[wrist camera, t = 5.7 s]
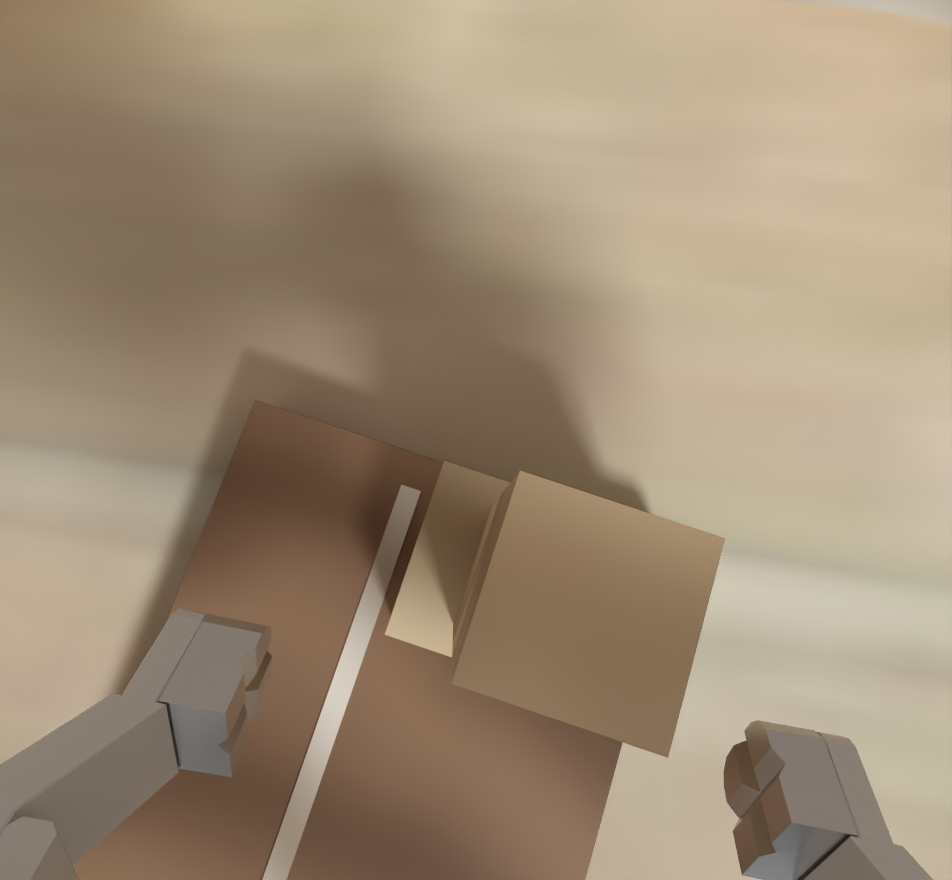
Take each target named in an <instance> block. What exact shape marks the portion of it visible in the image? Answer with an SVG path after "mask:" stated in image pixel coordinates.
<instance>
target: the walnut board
mask: <svg viewBox="0 0 952 880" xmlns="http://www.w3.org/2000/svg"><path fill="white" fill-rule="evenodd" d="M442 466H443V462H440V461H437V460H434V459H431V458H428V457H425V456H422V455H419V454H416V453H413V452H410V451H407V450H404V449H401V448H398V447H395V446H392V445H389V444H386V443H383V442H380V441H377V440H374V439H371V438H368V437H365V436H362V435H359V434H356V433H353V432H350V431H347V430H344V429H341V428H338V427H335V426H332V425H329V424H326V423H323V422H320V421H317V420H314V419H311V418H308V417H305V416H302V415H299V414H296V413H293V412H290V411H287V410H284V409H281V408H278V407H275V406H272V405H269V404H266V403H263V402H260V401H257V400H255V402H254V404H253V407H252V409H251V412H250V414H249V417H248V419H247V422H246V424H245V427H244V429H243V432H242V434H241V437H240V439H239V442H238V444H237V447H236V449H235V452H234V454H233V457H232V459H231V462H230V464H229V467H228V469H227V472H226V474H225V477H224V479H223V482H222V484H221V487H220V489H219V492H218V494H217V497H216V499H215V502H214V504H213V507H212V509H211V512H210V514H209V517H208V519H207V522H206V524H205V527H204V529H203V532H202V534H201V537H200V539H199V542H198V544H197V547H196V549H195V551H194V554H193V556H192V559H191V561H190V564H189V566H188V569H187V571H186V574H185V576H184V579H183V581H182V584H181V586H180V589H179V591H178V594H177V596H176V599H175V601H174V604H173V606H172V609H171V611H170V614H169V616H168V619H169V617H170V616H171V615H172V614H173V613H174V612H175V611H176V610H177V609H178V608H182V609H187V610H193V611H198V612H203V613H208V614H211V615H216V616H221V617H226V618H231V619H235V620H240V621H245V622H250V623H255V624H259V625H264V626H269V627H271V638H272V640H271V642H270V644H269V647H268V649H267V651H268V652H269V653H270V654H271V655H272V670H271V677H270V681H269V685H268V688H267V692H266V695H265V698H264V700H263V703H262V706H261V708H260V711H259V712H258V713H257V714H256V715H254V716H253V717H252V718H250V719H249V720H248V721H247V722H248V740H247V742H246V744H245V747H244V749H243V752H242V754H241V756H240V759H239V761H238V764H237V766H236V768H235V771H234V773H233V776H232V777H228V776H222V775H216V774H210V773H203V772H197V771H191V770H185V769H179V768H178V770H179V772H178V773H177V774H176V775H175V776H174V777H173V778H171V779H170V780H169V781H168V782H167V783H166V784H165V785H163V786H162V787H161V788H160V789H159V790H158V791H157V792H156V793H154V794H153V795H152V796H151V797H150V798H149V799H148V800H146V801H145V802H144V803H143V804H142V805H141V806H140V807H139V808H137V809H136V810H135V811H134V812H133V813H132V814H131V815H129V816H128V817H127V818H126V819H125V820H124V821H123V822H122V823H120V824H119V825H118V826H117V827H116V828H115V829H114V830H112V831H111V832H110V833H109V834H108V835H107V836H106V837H105V838H103V839H102V840H101V841H100V842H99V843H98V844H97V845H95V846H94V847H93V848H92V849H91V850H90V851H89V852H88V853H86V854H85V855H84V856H83V857H82V858H81V859H80V860H78V861H77V862H76V863H75V864H74V865H73V867H74V870H75V872H76V874H77V876H78V878H79V880H585V878H586V874H587V870H588V867H589V863H590V859H591V856H592V852H593V848H594V845H595V841H596V837H597V834H598V830H599V826H600V823H601V819H602V815H603V812H604V808H605V804H606V801H607V797H608V793H609V790H610V786H611V782H612V779H613V775H614V771H615V768H616V764H617V760H618V757H619V753H620V749H621V746H622V742H621V741H618V740H615V739H612V738H609V737H606V736H603V735H600V734H597V733H594V732H591V731H589V730H586V729H583V728H580V727H577V726H574V725H571V724H568V723H565V722H562V721H559V720H556V719H553V718H550V717H547V716H545V715H542V714H539V713H536V712H533V711H530V710H527V709H524V708H521V707H518V706H515V705H512V704H509V703H506V702H503V701H501V700H498V699H495V698H492V697H489V696H486V695H483V694H480V693H477V692H474V691H471V690H468V689H465V688H462V687H459V686H457V685H454V684H451V679H452V657H449V656H446V655H443V654H440V653H437V652H434V651H431V650H428V649H426V648H423V647H420V646H417V645H414V644H411V643H408V642H405V641H402V640H399V639H396V638H393V637H390V636H387V635H385V632H386V629H387V626H388V623H389V620H390V618H391V615H392V612H393V609H394V606H395V603H396V600H397V597H398V594H399V591H400V588H401V585H402V582H403V580H404V577H405V574H406V571H407V568H408V565H409V562H410V559H411V556H412V553H413V550H414V547H415V545H416V542H417V539H418V536H419V533H420V530H421V527H422V524H423V521H424V518H425V515H426V512H427V510H428V507H429V504H430V501H431V498H432V495H433V492H434V489H435V486H436V483H437V480H438V477H439V474H440V472H441V469H442ZM168 619H167V620H168ZM166 622H167V621H166Z"/></svg>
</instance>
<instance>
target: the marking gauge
mask: <svg viewBox="0 0 952 880" xmlns="http://www.w3.org/2000/svg"><path fill="white" fill-rule="evenodd" d="M724 540H725V538H722V537H719V536H716V535H713V534H710V533H707V532H704V531H701V530H698V529H695V528H692V527H689V526H686V525H683V524H680V523H677V522H674V521H671V520H668V519H665V518H662V517H659V516H656V515H653V514H650V513H647V512H644V511H641V510H638V509H635V508H632V507H629V506H626V505H623V504H620V503H617V502H614V501H611V500H608V499H605V498H602V497H599V496H596V495H593V494H590V493H587V492H584V491H581V490H578V489H575V488H572V487H569V486H566V485H563V484H559V483H556V482H553V481H550V480H547V479H544V478H541V477H538V476H535V475H532V474H529V473H526V472H523V471H519V472H518V473H517V475H516V476H515V477H514V479H513V480H512V481H511V482H508V481H505V480H502V479H499V478H496V477H493V476H490V475H487V474H483V473H480V472H477V471H474V470H471V469H468V468H465V467H462V466H459V465H456V464H453V463H450V462H447V461H444V463H443V466H442V469H441V472H440V474H439V477H438V480H437V483H436V486H435V489H434V492H433V495H432V498H431V501H430V504H429V507H428V510H427V512H426V515H425V518H424V521H423V524H422V527H421V530H420V533H419V536H418V539H417V542H416V545H415V547H414V550H413V553H412V556H411V559H410V562H409V565H408V568H407V571H406V574H405V577H404V580H403V582H402V585H401V588H400V591H399V594H398V597H397V600H396V603H395V606H394V609H393V612H392V615H391V618H390V620H389V623H388V626H387V629H386V632H385V635H387V636H390V637H393V638H396V639H399V640H402V641H405V642H408V643H411V644H414V645H417V646H420V647H423V648H426V649H428V650H431V651H434V652H437V653H440V654H443V655H446V656H449V657H452V679H451V684H454V685H457V686H459V687H462V688H465V689H468V690H471V691H474V692H477V693H480V694H483V695H486V696H489V697H492V698H495V699H498V700H501V701H503V702H506V703H509V704H512V705H515V706H518V707H521V708H524V709H527V710H530V711H533V712H536V713H539V714H542V715H545V716H547V717H550V718H553V719H556V720H559V721H562V722H565V723H568V724H571V725H574V726H577V727H580V728H583V729H586V730H589V731H591V732H594V733H597V734H600V735H603V736H606V737H609V738H612V739H615V740H618V741H621V742H624V743H627V744H630V745H633V746H635V747H638V748H641V749H644V750H647V751H650V752H653V753H656V754H659V755H662V756H665V757H668V755H669V751H670V748H671V744H672V740H673V736H674V732H675V728H676V725H677V721H678V717H679V713H680V709H681V705H682V702H683V698H684V694H685V690H686V686H687V682H688V678H689V675H690V671H691V667H692V663H693V659H694V655H695V652H696V648H697V644H698V640H699V636H700V632H701V629H702V625H703V621H704V617H705V613H706V609H707V605H708V602H709V598H710V594H711V590H712V586H713V582H714V579H715V575H716V571H717V567H718V563H719V559H720V556H721V552H722V548H723V544H724Z"/></svg>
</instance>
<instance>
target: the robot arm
mask: <svg viewBox="0 0 952 880" xmlns="http://www.w3.org/2000/svg"><path fill="white" fill-rule="evenodd" d="M271 640H272V638H271V627H269V626H264V625H259V624H255V623H250V622H245V621H240V620H235V619H231V618H226V617H221V616H216V615H211V614H208V613H203V612H198V611H193V610H187V609H182V608H178V609H177V610H176V611H175V612H174V613H173V614H172V615H171V616H170V617H169V619H168V620H167V622H166V624H165V625H164V627H163V629H162V630H161V632H160V633H159V635H158V637H157V638H156V640H155V642H154V643H153V645H152V646H151V648H150V650H149V651H148V653H147V655H146V656H145V658H144V659H143V661H142V663H141V664H140V666H139V667H138V669H137V671H136V672H135V674H134V676H133V677H132V679H131V680H130V682H129V684H128V685H127V687H126V689H125V690H124V692H123V693H122V695H117V694H111V695H109V696H108V697H106V698H105V699H103V700H101V701H100V702H98V703H97V704H95V705H94V706H92V707H90V708H89V709H87V710H86V711H84V712H83V713H81V714H79V715H78V716H76V717H75V718H73V719H72V720H70V721H68V722H67V723H65V724H64V725H62V726H61V727H59V728H57V729H56V730H54V731H53V732H51V733H50V734H48V735H46V736H45V737H43V738H42V739H40V740H39V741H37V742H35V743H34V744H32V745H31V746H29V747H28V748H26V749H24V750H23V751H21V752H20V753H18V754H16V755H15V756H13V757H12V758H10V759H9V760H7V761H5V762H4V763H2V764H1V765H0V880H79V878H78V876H77V874H76V872H75V870H74V867H73V865H74V864H75V863H76V862H77V861H78V860H80V859H81V858H82V857H83V856H84V855H85V854H86V853H88V852H89V851H90V850H91V849H92V848H93V847H94V846H95V845H97V844H98V843H99V842H100V841H101V840H102V839H103V838H105V837H106V836H107V835H108V834H109V833H110V832H111V831H112V830H114V829H115V828H116V827H117V826H118V825H119V824H120V823H122V822H123V821H124V820H125V819H126V818H127V817H128V816H129V815H131V814H132V813H133V812H134V811H135V810H136V809H137V808H139V807H140V806H141V805H142V804H143V803H144V802H145V801H146V800H148V799H149V798H150V797H151V796H152V795H153V794H154V793H156V792H157V791H158V790H159V789H160V788H161V787H162V786H163V785H165V784H166V783H167V782H168V781H169V780H170V779H171V778H173V777H174V776H175V775H176V774H177V773H178V772H179V770H178V768H179V769H185V770H191V771H197V772H203V773H210V774H216V775H222V776H228V777H232V776H233V773H234V771H235V768H236V766H237V764H238V761H239V759H240V756H241V754H242V752H243V749H244V747H245V744H246V742H247V740H248V722H247V721H248V720H249V719H250V718H252V717H253V716H254V715H256V714H257V713H258V712H259V711H260V708H261V706H262V703H263V700H264V698H265V695H266V692H267V688H268V685H269V681H270V677H271V670H272V655H271V654H270V653H269V652H268V651H267V649H268V647H269V644H270V642H271ZM745 735H746V740H747V741H744V742H742V743H739V744H736V745H734V746H733V748H732V749H731V751H730V752H729V754H728V756H727V758H726V763H725V768H724V789H725V794H726V799H727V803H728V804H729V806H730V807H731V808H732V810H733V811H734V812H735V814H736V815H737V816H738V818H739V820H738V822H737V824H736V826H735V828H734V830H733V834H734V839H735V844H736V849H737V854H738V858H739V863H740V868H741V873H742V875H744V876H748V877H753V878H757V879H762V880H933V879H932V878H931V877H930V876H929V875H928V874H927V872H926V871H925V870H924V869H923V868H922V867H921V866H920V865H919V864H918V862H917V861H916V860H915V859H914V858H913V857H912V856H911V855H910V854H909V853H908V851H907V850H906V849H905V848H904V847H903V846H900V845H896V844H893V841H892V839H891V836H890V834H889V831H888V829H887V826H886V824H885V821H884V818H883V816H882V813H881V811H880V808H879V806H878V803H877V801H876V798H875V795H874V793H873V790H872V788H871V785H870V783H869V780H868V778H867V775H866V772H865V770H864V767H863V765H862V762H861V760H860V757H859V754H858V752H857V749H856V747H855V745H854V744H853V743H852V742H851V740H850V739H848V738H846V737H843V736H837V735H832V734H826V733H820V732H815V731H814V730H809V729H803V728H798V727H792V726H786V725H781V724H775V723H769V722H764V721H755V722H751V723H750V724H749V726H748V727H747V728H746V730H745Z"/></svg>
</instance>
